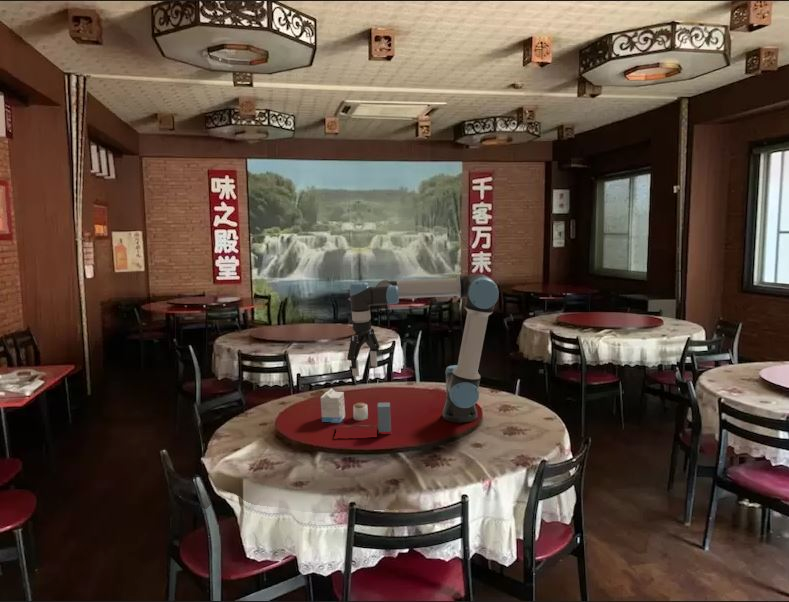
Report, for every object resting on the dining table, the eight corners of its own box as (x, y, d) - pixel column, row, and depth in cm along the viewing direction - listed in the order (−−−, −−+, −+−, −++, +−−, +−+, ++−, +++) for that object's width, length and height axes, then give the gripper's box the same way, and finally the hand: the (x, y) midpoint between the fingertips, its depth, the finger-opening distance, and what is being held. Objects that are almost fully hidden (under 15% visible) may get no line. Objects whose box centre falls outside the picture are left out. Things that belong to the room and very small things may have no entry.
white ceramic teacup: (368, 414, 267) (367, 401, 266) (367, 420, 261) (367, 406, 260) (354, 415, 267) (353, 402, 266) (353, 420, 261) (352, 407, 260)
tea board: (378, 426, 253) (378, 424, 253) (377, 438, 241) (377, 435, 241) (336, 428, 253) (336, 426, 253) (333, 439, 241) (333, 437, 241)
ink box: (340, 423, 258) (338, 394, 255) (321, 422, 260) (319, 393, 257) (345, 416, 266) (344, 387, 264) (327, 415, 268) (326, 387, 265)
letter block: (390, 429, 250) (389, 402, 247) (390, 434, 245) (389, 406, 242) (379, 429, 250) (377, 402, 247) (378, 434, 245) (377, 407, 242)
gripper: (370, 313, 251) (373, 361, 255) (335, 326, 230) (340, 379, 234) (385, 314, 247) (388, 363, 251) (351, 328, 226) (355, 381, 230)
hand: (365, 371), depth 243 cm, fingers open, 13 cm apart
